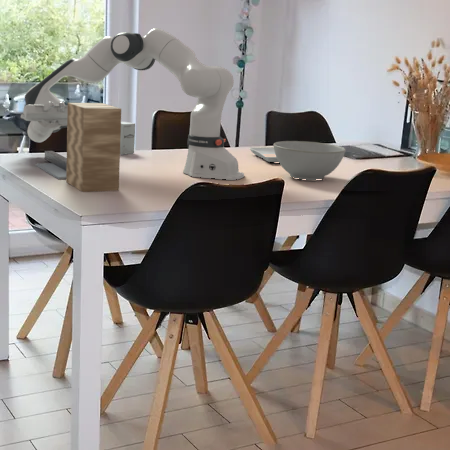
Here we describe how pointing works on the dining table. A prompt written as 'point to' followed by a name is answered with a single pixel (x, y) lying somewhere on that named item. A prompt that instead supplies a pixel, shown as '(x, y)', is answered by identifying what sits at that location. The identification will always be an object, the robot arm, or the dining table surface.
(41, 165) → the mat
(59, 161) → the bar
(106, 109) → the pedestal
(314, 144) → the decorative bowl
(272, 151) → the square plate
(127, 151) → the supplement box
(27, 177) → the dining table surface
